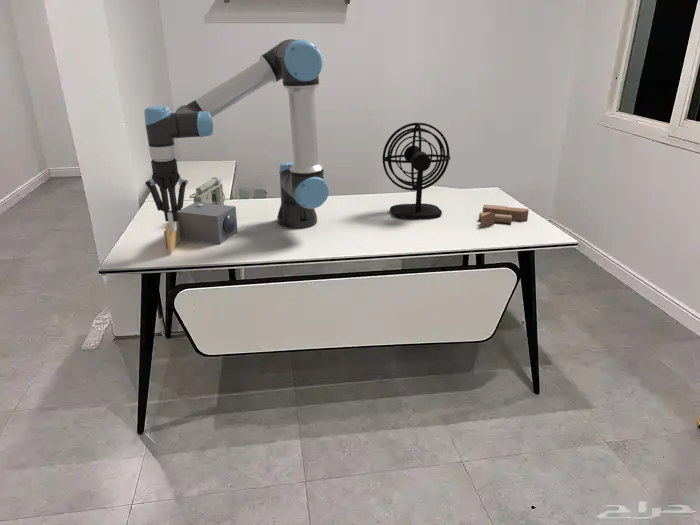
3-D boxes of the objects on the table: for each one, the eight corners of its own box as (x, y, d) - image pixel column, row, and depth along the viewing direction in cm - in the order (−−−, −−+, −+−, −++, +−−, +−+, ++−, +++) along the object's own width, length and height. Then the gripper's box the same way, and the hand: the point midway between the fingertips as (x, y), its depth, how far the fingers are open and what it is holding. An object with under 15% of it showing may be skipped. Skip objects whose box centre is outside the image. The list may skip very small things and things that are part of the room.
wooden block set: (481, 201, 216) (529, 205, 211) (480, 215, 218) (527, 219, 213) (478, 214, 201) (529, 218, 196) (476, 228, 203) (527, 233, 198)
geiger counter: (202, 188, 199) (229, 172, 222) (186, 187, 200) (214, 171, 223) (205, 224, 205) (232, 205, 227) (190, 223, 206) (217, 204, 228)
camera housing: (240, 233, 196) (237, 205, 192) (222, 244, 186) (219, 215, 182) (199, 227, 201) (196, 200, 197) (180, 238, 191) (176, 209, 187)
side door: (171, 253, 177) (168, 227, 173) (166, 254, 176) (163, 227, 173) (180, 237, 190) (177, 212, 187) (175, 237, 190) (172, 212, 187)
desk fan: (442, 204, 229) (448, 119, 215) (454, 218, 213) (462, 127, 199) (378, 207, 226) (381, 120, 212) (386, 220, 210) (389, 128, 196)
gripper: (188, 156, 171) (196, 226, 180) (146, 155, 171) (157, 226, 181) (180, 161, 164) (189, 234, 173) (138, 161, 164) (149, 234, 174)
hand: (173, 230), depth 177 cm, fingers closed
